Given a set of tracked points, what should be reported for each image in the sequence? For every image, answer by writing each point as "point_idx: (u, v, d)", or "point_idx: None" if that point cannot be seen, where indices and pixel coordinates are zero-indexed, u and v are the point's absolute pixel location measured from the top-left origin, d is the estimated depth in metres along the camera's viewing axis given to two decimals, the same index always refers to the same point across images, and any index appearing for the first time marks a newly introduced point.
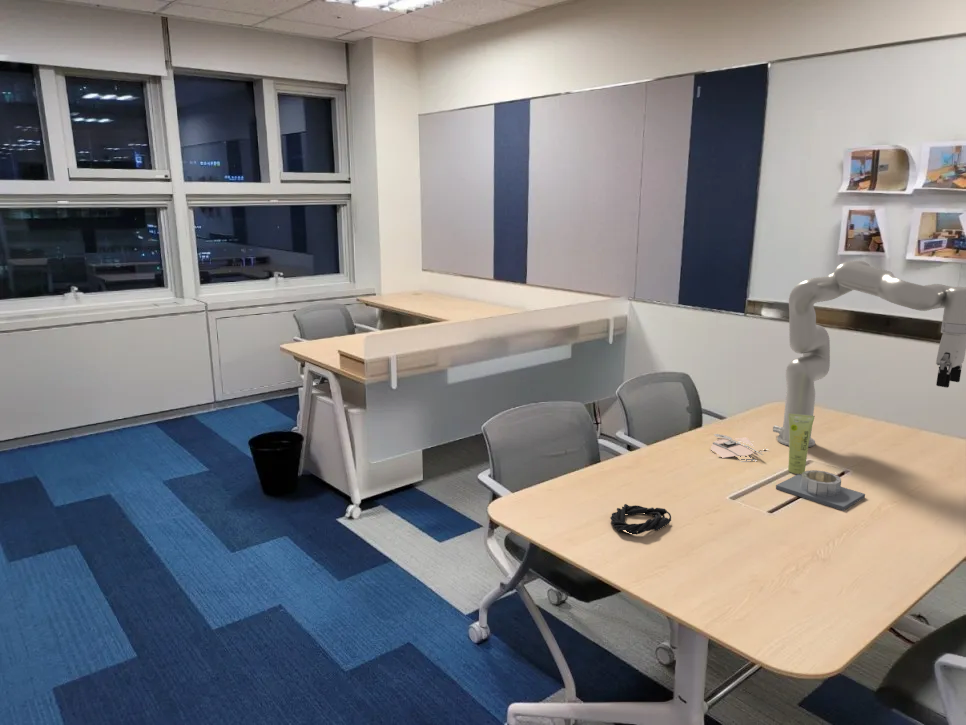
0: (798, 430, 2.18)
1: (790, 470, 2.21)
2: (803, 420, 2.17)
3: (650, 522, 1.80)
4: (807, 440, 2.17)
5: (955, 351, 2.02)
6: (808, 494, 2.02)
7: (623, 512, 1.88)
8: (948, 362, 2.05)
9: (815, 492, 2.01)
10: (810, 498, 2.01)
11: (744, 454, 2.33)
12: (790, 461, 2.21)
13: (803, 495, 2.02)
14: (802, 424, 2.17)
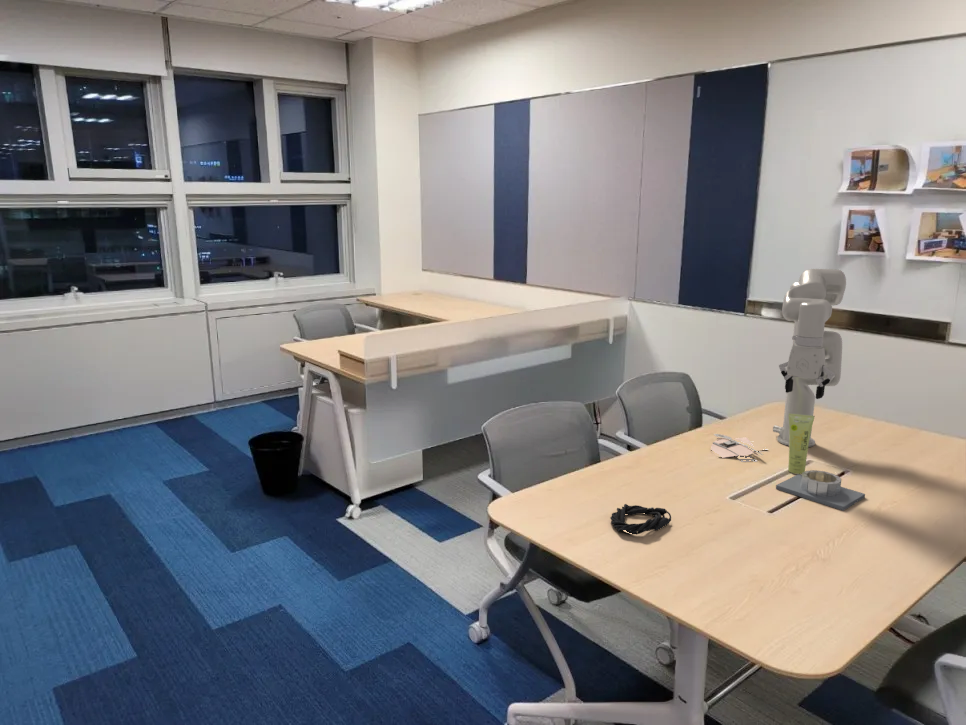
0: (798, 430, 2.18)
1: (790, 470, 2.21)
2: (803, 420, 2.17)
3: (650, 522, 1.80)
4: (807, 440, 2.17)
5: None
6: (808, 494, 2.02)
7: (623, 512, 1.88)
8: None
9: (815, 492, 2.01)
10: (810, 498, 2.01)
11: (744, 454, 2.33)
12: (790, 461, 2.21)
13: (803, 495, 2.02)
14: (802, 424, 2.17)
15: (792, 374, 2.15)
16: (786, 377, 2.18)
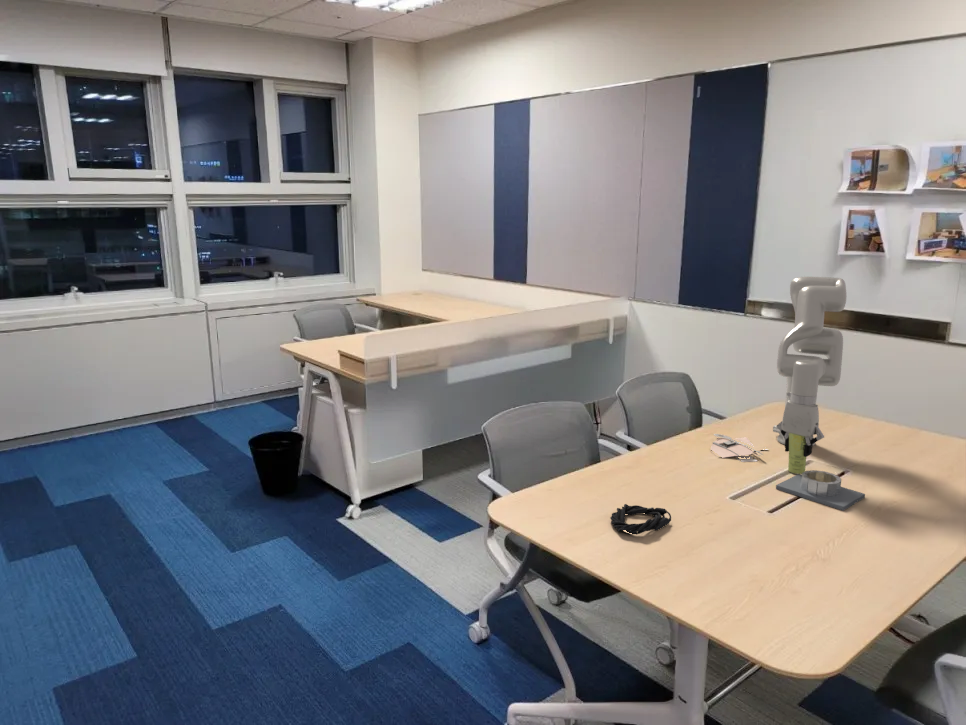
0: None
1: (790, 470, 2.21)
2: None
3: (650, 522, 1.80)
4: None
5: None
6: (808, 494, 2.02)
7: (623, 512, 1.88)
8: None
9: (815, 492, 2.01)
10: (810, 498, 2.01)
11: (744, 454, 2.33)
12: (790, 461, 2.21)
13: (803, 495, 2.02)
14: None
15: (786, 430, 2.19)
16: (785, 436, 2.22)
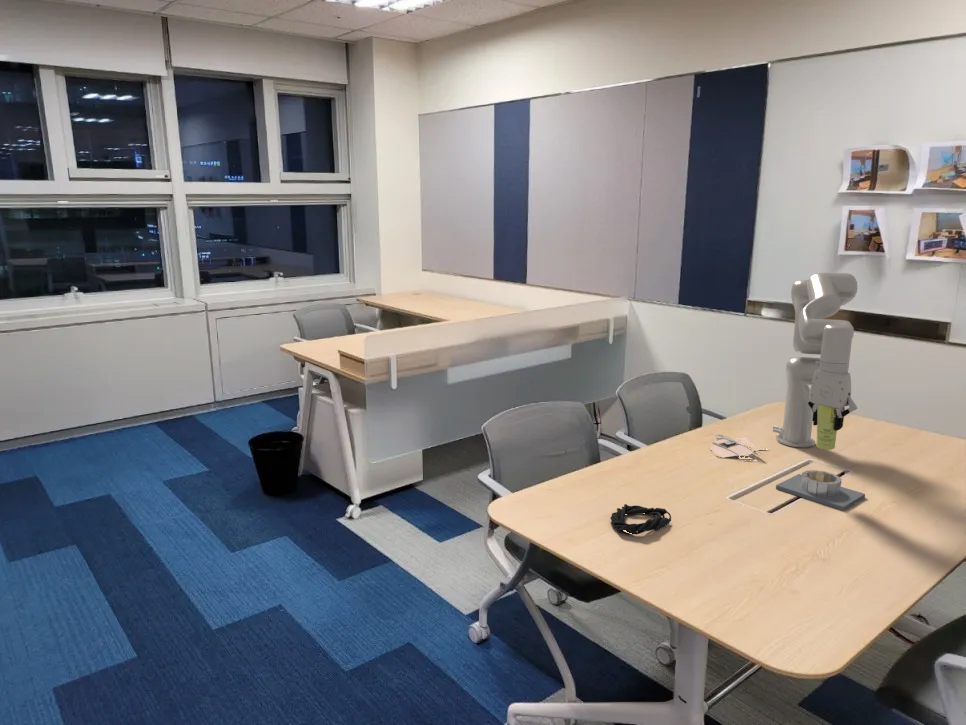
0: None
1: (819, 445, 2.01)
2: None
3: (650, 522, 1.80)
4: None
5: None
6: (808, 494, 2.02)
7: (623, 512, 1.88)
8: None
9: (815, 492, 2.01)
10: (810, 498, 2.01)
11: (744, 454, 2.33)
12: (818, 435, 2.01)
13: (803, 495, 2.02)
14: None
15: (815, 401, 2.00)
16: (813, 409, 2.02)
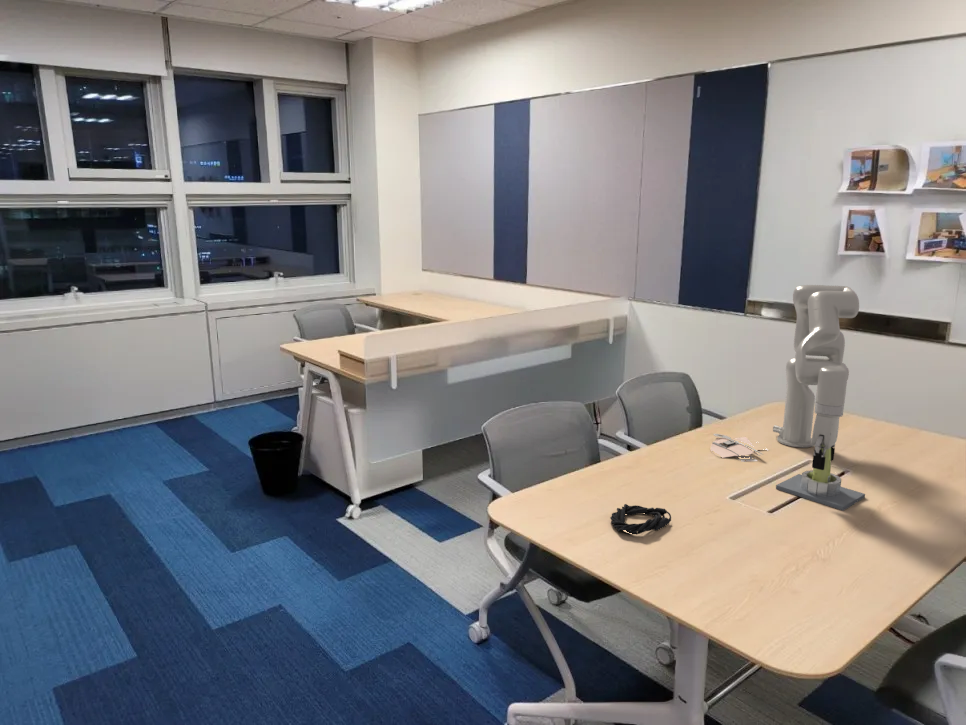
0: None
1: None
2: None
3: (650, 522, 1.80)
4: None
5: (829, 433, 1.96)
6: (808, 494, 2.02)
7: (623, 512, 1.88)
8: (822, 443, 1.99)
9: (815, 492, 2.01)
10: (810, 498, 2.01)
11: (744, 454, 2.33)
12: None
13: (803, 495, 2.02)
14: None
15: None
16: None
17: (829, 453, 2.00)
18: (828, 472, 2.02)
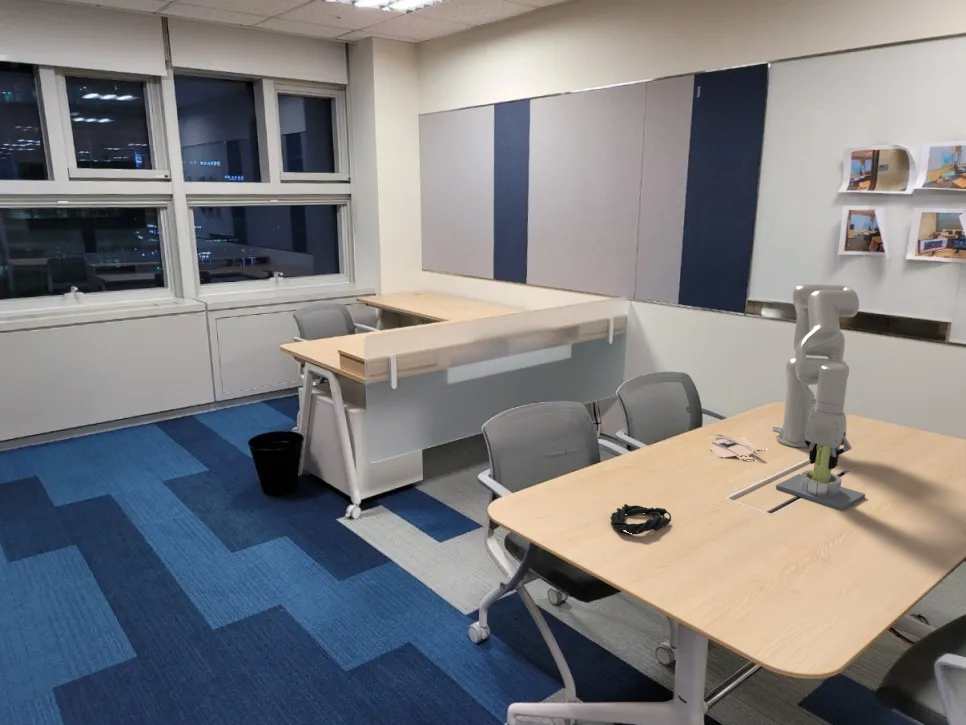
0: None
1: None
2: None
3: (650, 522, 1.80)
4: (821, 455, 2.01)
5: None
6: (808, 494, 2.02)
7: (623, 512, 1.88)
8: None
9: (815, 492, 2.01)
10: (810, 498, 2.01)
11: (744, 454, 2.33)
12: None
13: (803, 495, 2.02)
14: None
15: (811, 440, 2.02)
16: (810, 447, 2.04)
17: (830, 453, 2.00)
18: (829, 472, 2.02)
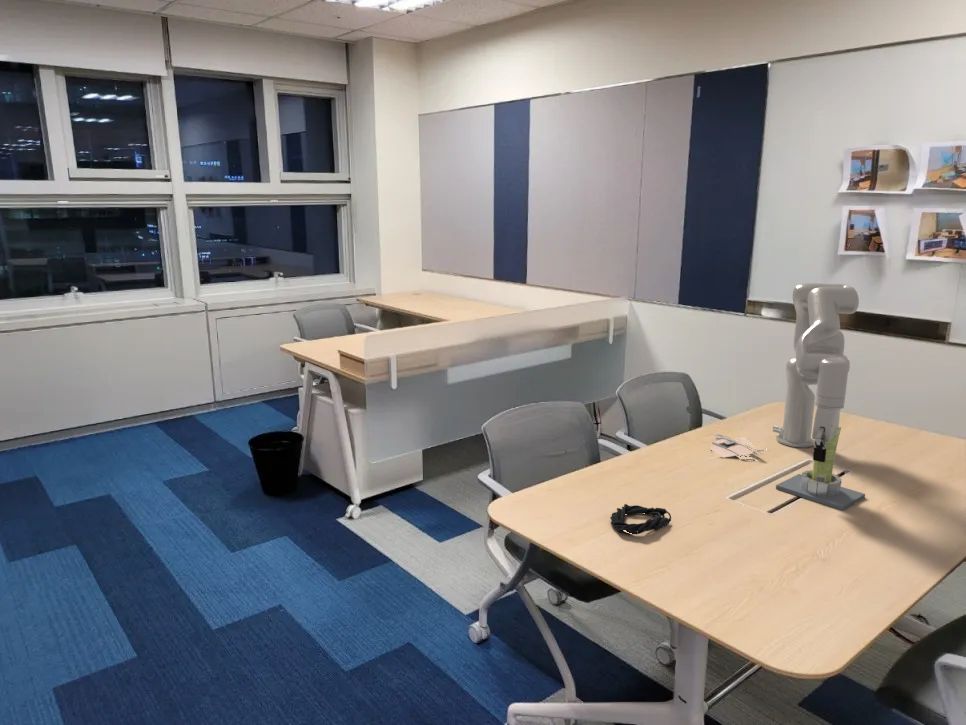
0: None
1: None
2: None
3: (650, 522, 1.80)
4: None
5: (830, 425, 1.96)
6: (808, 494, 2.02)
7: (623, 512, 1.88)
8: (823, 436, 1.99)
9: (815, 492, 2.01)
10: (810, 498, 2.01)
11: (744, 454, 2.33)
12: None
13: (803, 495, 2.02)
14: None
15: None
16: None
17: None
18: (817, 470, 2.03)
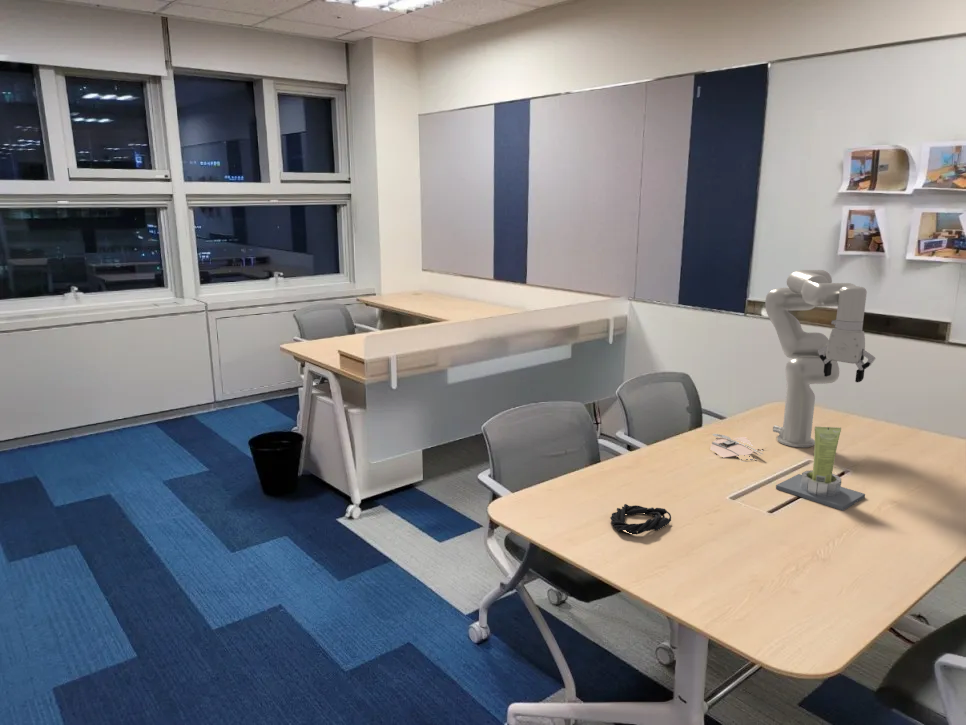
0: None
1: None
2: None
3: (650, 522, 1.80)
4: None
5: None
6: (808, 494, 2.02)
7: (623, 512, 1.88)
8: None
9: (815, 492, 2.01)
10: (810, 498, 2.01)
11: (744, 454, 2.34)
12: None
13: (803, 495, 2.02)
14: None
15: (831, 358, 2.17)
16: (825, 361, 2.21)
17: (817, 451, 2.02)
18: (817, 470, 2.03)
